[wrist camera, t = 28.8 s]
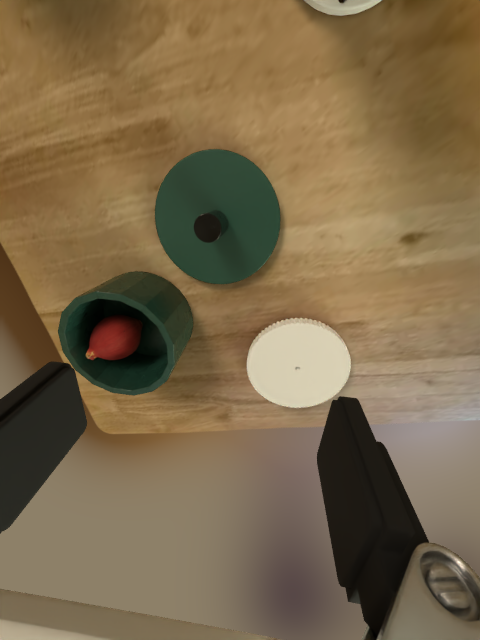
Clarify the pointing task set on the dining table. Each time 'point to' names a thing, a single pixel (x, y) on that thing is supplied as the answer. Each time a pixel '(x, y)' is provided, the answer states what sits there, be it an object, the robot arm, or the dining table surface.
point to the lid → (217, 216)
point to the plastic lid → (298, 363)
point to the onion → (115, 338)
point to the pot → (156, 336)
